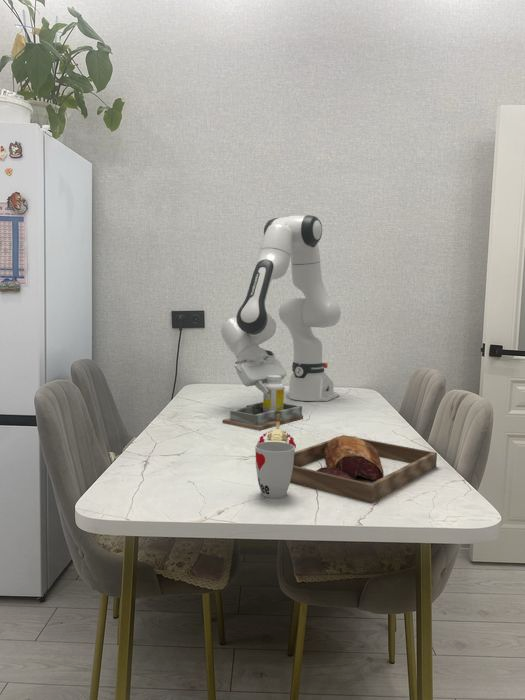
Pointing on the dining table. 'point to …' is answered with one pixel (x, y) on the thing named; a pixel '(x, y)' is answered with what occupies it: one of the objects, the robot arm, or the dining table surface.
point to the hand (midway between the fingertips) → (275, 391)
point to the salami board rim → (357, 489)
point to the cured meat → (352, 459)
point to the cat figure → (278, 434)
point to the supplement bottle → (273, 394)
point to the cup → (274, 467)
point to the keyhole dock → (263, 416)
